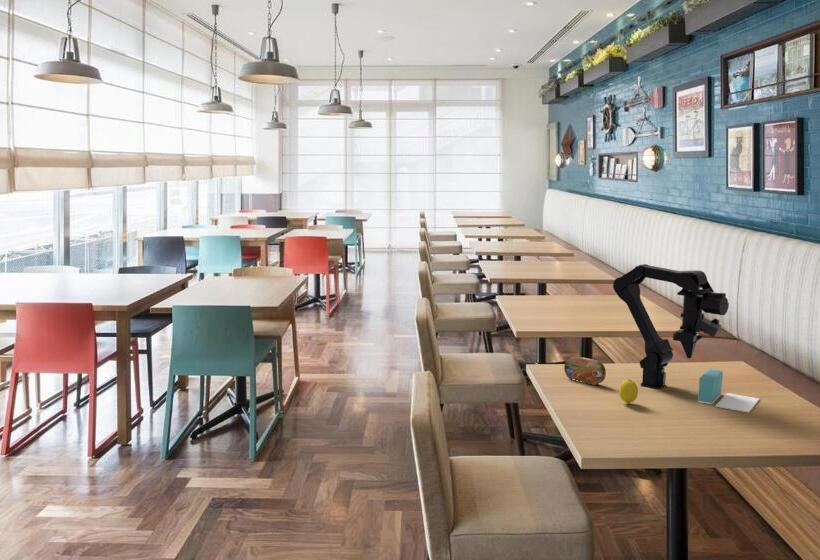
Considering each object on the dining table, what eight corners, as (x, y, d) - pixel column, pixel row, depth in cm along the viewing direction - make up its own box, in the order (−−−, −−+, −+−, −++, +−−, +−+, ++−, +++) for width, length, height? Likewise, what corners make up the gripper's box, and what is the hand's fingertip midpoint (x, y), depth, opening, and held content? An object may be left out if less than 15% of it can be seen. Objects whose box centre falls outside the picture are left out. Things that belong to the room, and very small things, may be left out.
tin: (563, 378, 249) (564, 354, 248) (568, 376, 251) (569, 353, 250) (601, 387, 238) (602, 363, 237) (606, 385, 240) (607, 361, 239)
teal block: (698, 402, 224) (699, 377, 223) (708, 392, 233) (709, 368, 232) (711, 404, 221) (713, 379, 220) (721, 394, 231) (722, 370, 230)
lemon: (638, 402, 223) (639, 377, 222) (635, 407, 218) (637, 382, 217) (620, 400, 225) (621, 375, 224) (617, 405, 220) (618, 380, 219)
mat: (715, 406, 219) (715, 405, 219) (727, 394, 231) (727, 393, 231) (749, 412, 214) (749, 411, 214) (759, 399, 226) (759, 398, 226)
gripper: (711, 318, 215) (708, 368, 217) (726, 308, 230) (723, 355, 232) (673, 314, 222) (670, 362, 224) (690, 304, 236) (687, 350, 239)
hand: (689, 358), depth 230 cm, fingers closed
